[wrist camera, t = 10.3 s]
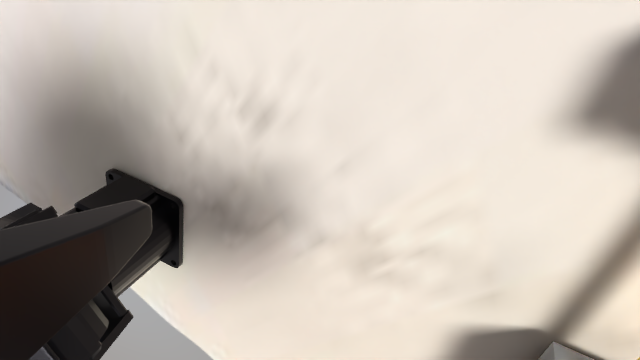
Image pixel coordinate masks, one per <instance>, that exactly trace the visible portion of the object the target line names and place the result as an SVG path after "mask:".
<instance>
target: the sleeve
mask: <svg viewBox="0 0 640 360" xmlns="http://www.w3.org/2000/svg"><path fill="white" fill-rule="evenodd" d="M538 360H594V359H592V358H590V357H587V356H585V355H583V354H581V353H578V352H576V351H574V350H572V349H570V348H567V347H565V346H563V345H561V344H558V343H556V342H554V341H553V342H552V343H551V344H550V346H549V347H548V348H547V349H546V350H545V352H544V353H543V354H542V355H541V356H540V357H539V359H538Z"/></svg>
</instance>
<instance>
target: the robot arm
mask: <svg viewBox="0 0 640 360" xmlns="http://www.w3.org/2000/svg"><path fill="white" fill-rule="evenodd" d="M106 182H107V186H105V187H103V188H101V189H100V190H98V191H96V192H94V193H92V194H91V195H89V196H87V197H85V198H84V199H82V200H80V201H78V202H77V203H76V204H75V208H73V209H72V210H70V211H68V212H66V213H65V214H63V215H61V216H59V217H58V216H57V215H56V213H57V212H56V210H55V209H54V208H53V206H50V207H48V208H46V209H44V210H42V209H41V207H40V208H39V207H37V206H36V205H34V204H32V203H29V204H27V205H25V206H23V207H21V208H20V209H17V210H15V211H13V212H12V213H10V214H8V215H6V216H4V217H2V218H0V360H100V358H101V357H102V356H103V355H104V353H105V352H106V351H107V350H108V348H109V347H110V346H111V345H112V343H113V342H114V341H115V340H116V338H117V337H118V336H119V335H120V333H121V332H122V331H123V330H124V328H125V327H126V326H127V325H128V323H129V322H130V321H131V319H132V318H133V315H132V314H131V312H130V311H129V310H126V308H125V307H124V306H123V304H122V303H121V301H120V300H119V299H118V296H119V295H120V294H122V293H123V292H124V291H125V290H126V289H128V288H129V287H130V286H131V285H132V284H133V283H135V282H136V281H137V280H138V279H139V278H140V277H142V276H143V275H144V274H145V273H146V272H147V271H149V270H150V269H151V268H152V267H153V266H154V265H156V264H157V263H158V262H159V261H162V262H164V263H166V264H168V265H170V266H172V267H174V268H178V267H179V266H180V265H181V264H182V262H183V203H182V202H181V200H180V199H178V198H176V197H174V196H172V195H170V194H168V193H166V192H163V191H161V190H159V189H157V188H155V187H153V186H150V185H148V184H146V183H144V182H142V181H140V180H137V179H135V178H133V177H131V176H129V175H127V174H124V173H122V172H120V171H118V170H116V169H110V170H108V171H107V172H106Z"/></svg>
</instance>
